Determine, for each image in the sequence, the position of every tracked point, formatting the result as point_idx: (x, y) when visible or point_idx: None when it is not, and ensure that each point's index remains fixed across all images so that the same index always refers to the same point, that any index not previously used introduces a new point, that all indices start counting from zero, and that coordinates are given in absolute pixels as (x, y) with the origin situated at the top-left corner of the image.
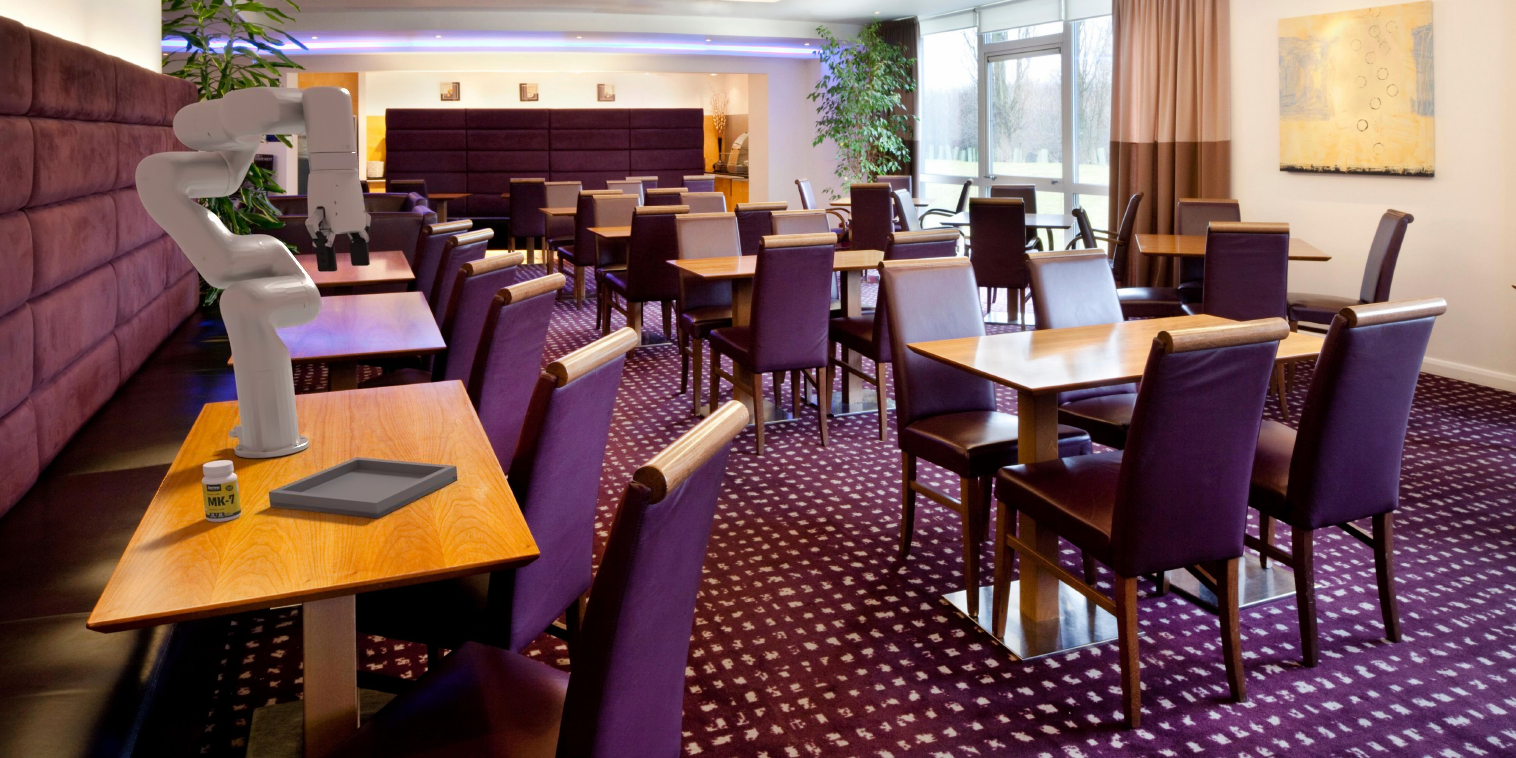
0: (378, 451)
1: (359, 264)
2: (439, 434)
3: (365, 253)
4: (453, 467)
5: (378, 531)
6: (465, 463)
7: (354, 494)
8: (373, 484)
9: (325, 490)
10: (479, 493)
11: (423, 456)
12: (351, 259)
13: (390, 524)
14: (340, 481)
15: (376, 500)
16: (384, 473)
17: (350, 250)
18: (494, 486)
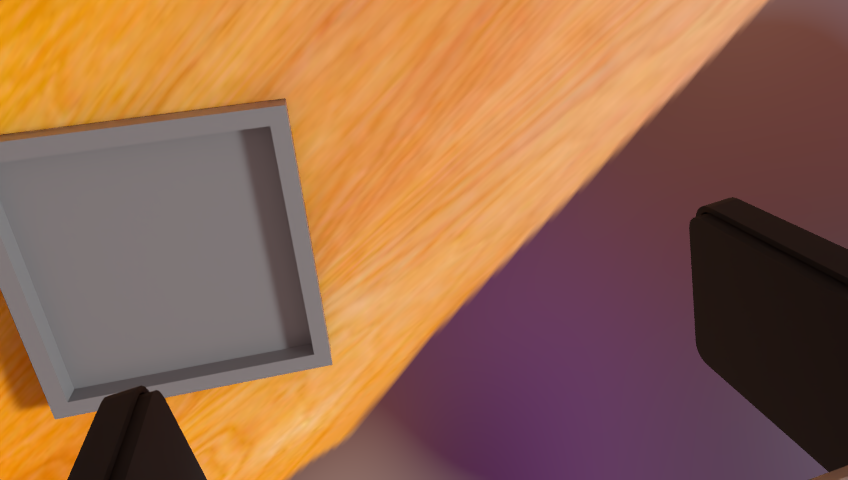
0: (444, 3)
1: (697, 294)
2: (628, 34)
3: (776, 419)
4: (321, 366)
5: (17, 450)
6: (432, 278)
7: (119, 274)
8: (194, 254)
9: (99, 193)
10: (281, 436)
11: (446, 152)
12: (728, 241)
13: (58, 439)
14: (169, 167)
15: (66, 407)
16: (269, 211)
17: (807, 284)
18: (327, 429)
